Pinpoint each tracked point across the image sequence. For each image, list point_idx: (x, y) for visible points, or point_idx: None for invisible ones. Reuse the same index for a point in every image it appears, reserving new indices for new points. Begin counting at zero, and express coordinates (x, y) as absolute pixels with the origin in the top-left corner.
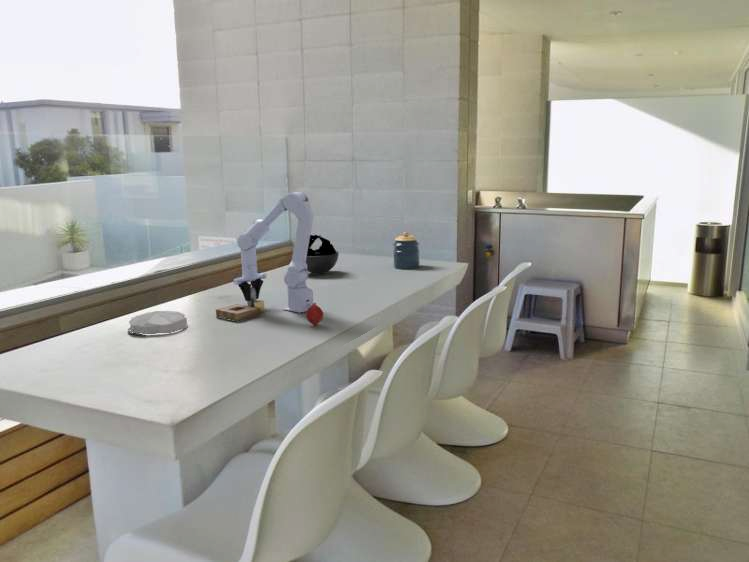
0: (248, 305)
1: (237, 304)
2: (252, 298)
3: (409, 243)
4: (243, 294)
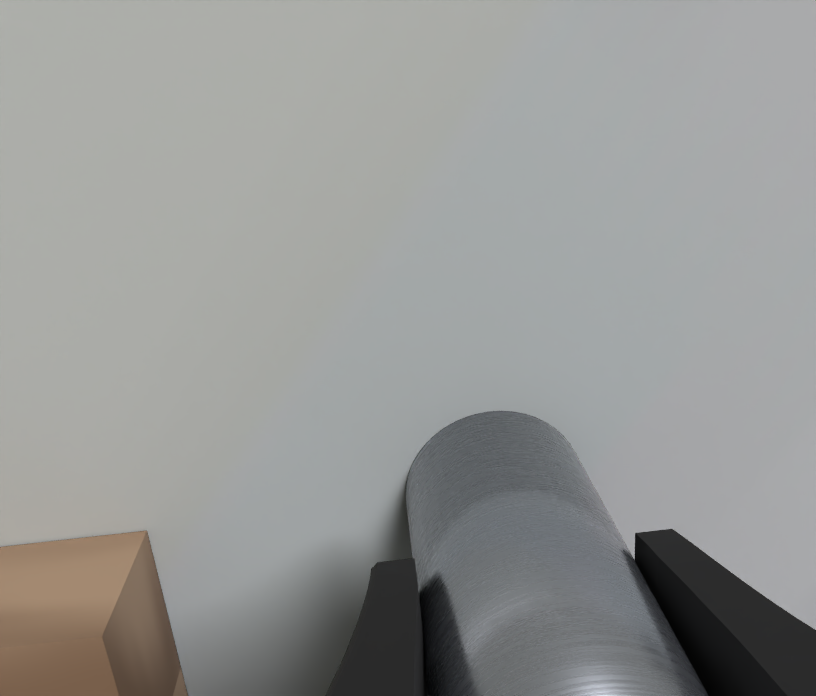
0: (411, 534)
1: (76, 673)
2: None
3: None
4: (345, 665)
